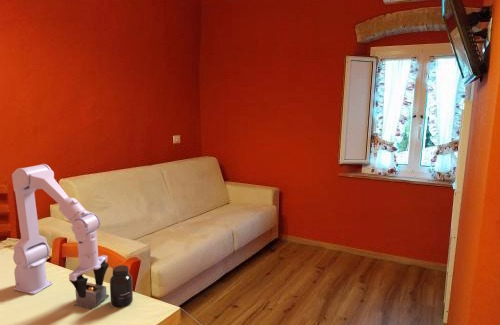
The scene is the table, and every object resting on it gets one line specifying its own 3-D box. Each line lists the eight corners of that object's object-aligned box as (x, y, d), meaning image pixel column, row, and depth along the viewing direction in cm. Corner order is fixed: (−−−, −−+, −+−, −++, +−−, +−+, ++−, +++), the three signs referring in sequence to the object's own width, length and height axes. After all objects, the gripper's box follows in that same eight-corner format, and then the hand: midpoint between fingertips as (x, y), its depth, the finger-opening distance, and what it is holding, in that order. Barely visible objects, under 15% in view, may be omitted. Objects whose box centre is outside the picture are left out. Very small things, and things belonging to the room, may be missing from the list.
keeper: (73, 305, 112) (72, 292, 111) (92, 292, 119) (91, 280, 119) (91, 309, 110) (90, 296, 109) (108, 296, 117) (108, 283, 116)
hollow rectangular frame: (76, 300, 113) (75, 289, 113) (87, 293, 118) (86, 282, 117) (96, 305, 111) (95, 293, 110) (106, 297, 115) (106, 286, 115)
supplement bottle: (125, 309, 110) (123, 274, 108) (106, 307, 111) (104, 272, 109) (137, 298, 116) (135, 264, 114) (118, 295, 118) (116, 262, 116)
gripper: (80, 263, 104) (84, 305, 106) (113, 244, 117) (116, 282, 119) (62, 259, 106) (65, 300, 108) (96, 242, 119) (99, 278, 122)
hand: (91, 290), depth 114 cm, fingers open, 7 cm apart
